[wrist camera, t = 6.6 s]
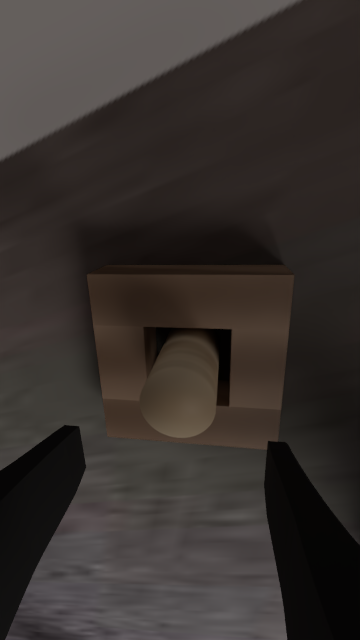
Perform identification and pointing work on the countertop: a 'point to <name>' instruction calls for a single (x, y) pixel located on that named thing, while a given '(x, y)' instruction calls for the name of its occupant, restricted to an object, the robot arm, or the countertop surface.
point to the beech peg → (183, 383)
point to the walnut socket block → (194, 312)
